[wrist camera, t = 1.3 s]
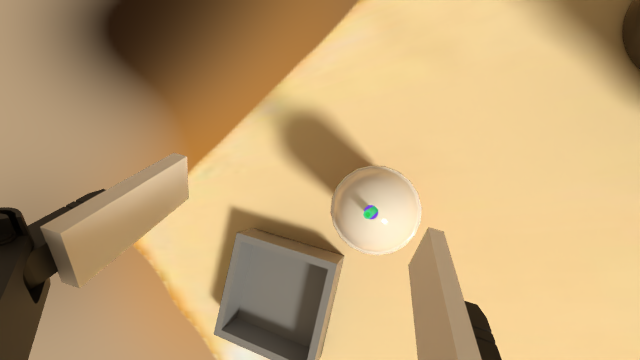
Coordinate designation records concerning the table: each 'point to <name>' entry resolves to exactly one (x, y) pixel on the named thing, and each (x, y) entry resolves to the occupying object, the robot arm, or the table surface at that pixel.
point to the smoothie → (376, 210)
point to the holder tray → (278, 296)
